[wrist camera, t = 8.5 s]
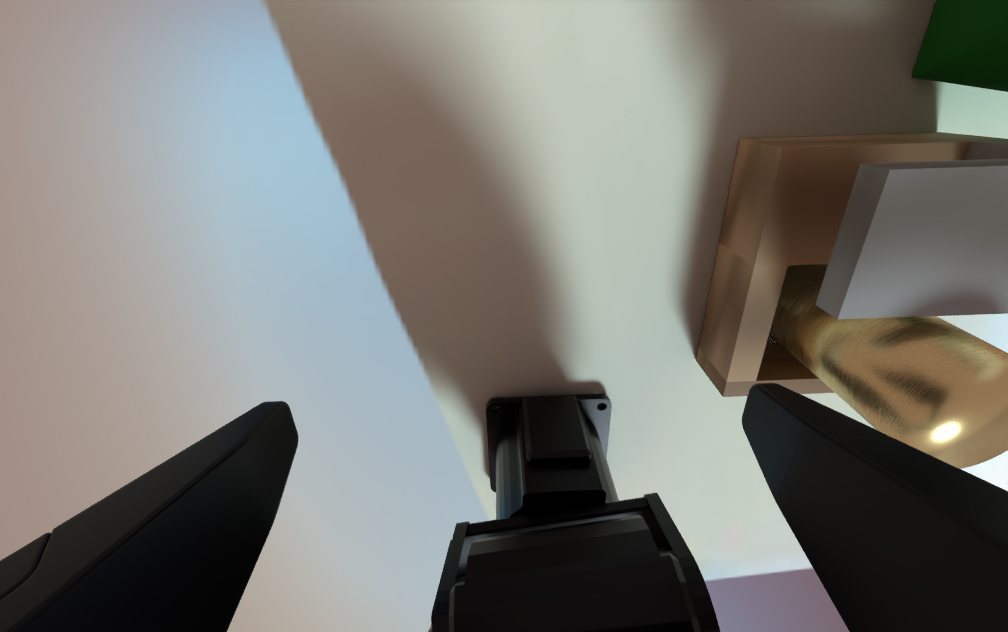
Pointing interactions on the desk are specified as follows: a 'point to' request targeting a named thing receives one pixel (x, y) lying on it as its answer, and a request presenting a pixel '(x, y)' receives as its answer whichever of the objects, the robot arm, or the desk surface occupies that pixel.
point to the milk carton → (966, 44)
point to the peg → (901, 372)
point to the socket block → (853, 240)
